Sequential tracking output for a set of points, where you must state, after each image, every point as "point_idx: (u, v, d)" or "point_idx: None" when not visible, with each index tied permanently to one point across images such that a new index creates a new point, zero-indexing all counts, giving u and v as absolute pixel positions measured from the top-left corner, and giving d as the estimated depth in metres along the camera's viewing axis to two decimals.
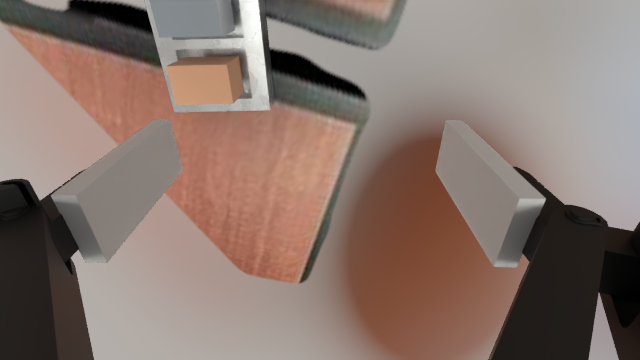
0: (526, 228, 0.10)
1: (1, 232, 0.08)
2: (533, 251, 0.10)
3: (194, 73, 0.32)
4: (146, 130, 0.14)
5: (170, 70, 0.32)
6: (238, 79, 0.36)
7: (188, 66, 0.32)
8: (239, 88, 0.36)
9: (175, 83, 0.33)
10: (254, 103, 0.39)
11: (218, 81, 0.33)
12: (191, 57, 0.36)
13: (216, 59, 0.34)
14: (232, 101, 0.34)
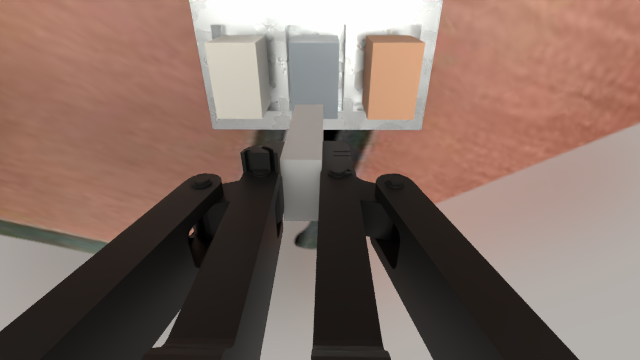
0: (315, 186, 0.12)
1: (248, 186, 0.10)
2: None
3: (378, 88, 0.26)
4: (299, 112, 0.16)
5: (372, 115, 0.27)
6: (394, 37, 0.27)
7: (370, 93, 0.27)
8: (406, 37, 0.27)
9: (388, 113, 0.27)
10: (429, 22, 0.28)
11: (392, 58, 0.25)
12: (362, 94, 0.31)
13: (367, 62, 0.28)
14: (422, 43, 0.25)
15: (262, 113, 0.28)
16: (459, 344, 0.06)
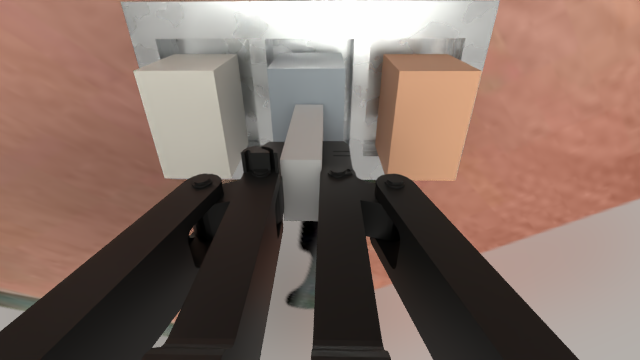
0: (315, 186, 0.12)
1: (248, 186, 0.10)
2: None
3: (405, 137, 0.17)
4: (299, 112, 0.16)
5: None
6: (426, 58, 0.18)
7: (392, 144, 0.17)
8: (444, 58, 0.18)
9: (417, 172, 0.18)
10: (476, 35, 0.19)
11: (428, 95, 0.16)
12: (376, 135, 0.22)
13: (385, 94, 0.19)
14: (476, 72, 0.16)
15: (231, 170, 0.19)
16: (459, 344, 0.06)
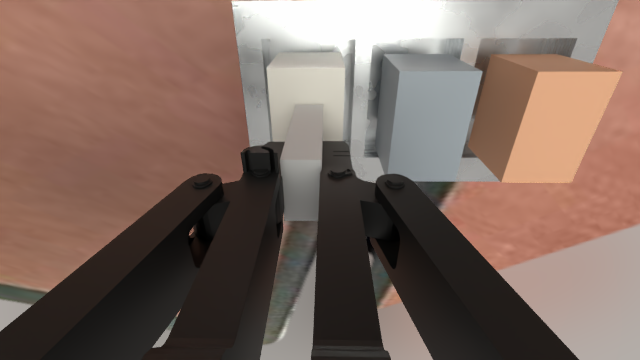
0: (315, 185, 0.12)
1: (248, 186, 0.10)
2: None
3: (529, 138, 0.17)
4: (299, 113, 0.16)
5: (510, 177, 0.18)
6: (543, 58, 0.18)
7: (515, 146, 0.17)
8: (562, 59, 0.18)
9: (534, 174, 0.18)
10: (589, 35, 0.19)
11: (562, 95, 0.16)
12: (471, 136, 0.22)
13: (496, 94, 0.19)
14: (616, 72, 0.15)
15: None
16: (459, 344, 0.06)
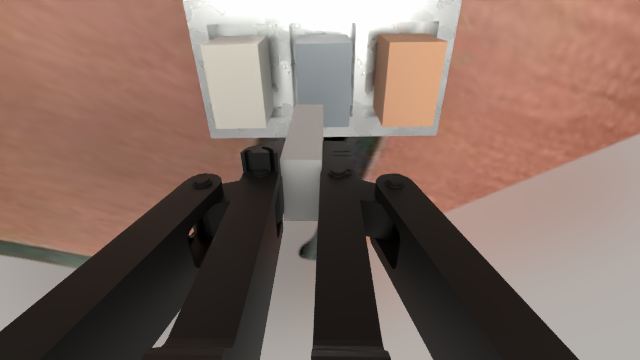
0: (315, 186, 0.12)
1: (248, 186, 0.10)
2: None
3: (395, 92, 0.24)
4: (299, 112, 0.16)
5: (388, 122, 0.25)
6: (410, 35, 0.25)
7: (386, 98, 0.24)
8: (423, 35, 0.25)
9: (404, 120, 0.25)
10: (447, 18, 0.26)
11: (410, 59, 0.23)
12: None
13: (380, 63, 0.26)
14: (443, 42, 0.22)
15: (266, 122, 0.25)
16: (459, 344, 0.06)
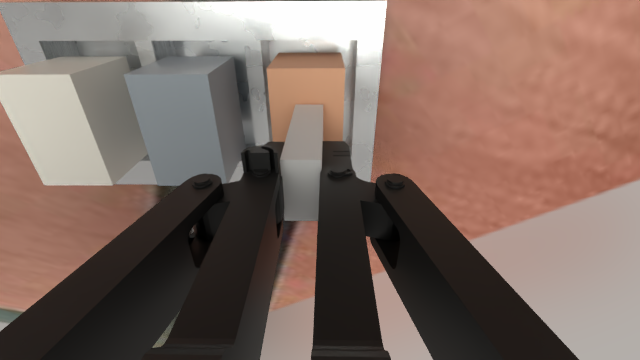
0: (315, 185, 0.12)
1: (248, 186, 0.10)
2: None
3: (285, 132, 0.18)
4: (299, 112, 0.16)
5: None
6: (312, 56, 0.19)
7: (274, 139, 0.18)
8: (329, 57, 0.19)
9: None
10: (368, 36, 0.19)
11: (299, 91, 0.17)
12: None
13: None
14: (340, 69, 0.16)
15: (113, 177, 0.18)
16: (459, 344, 0.06)
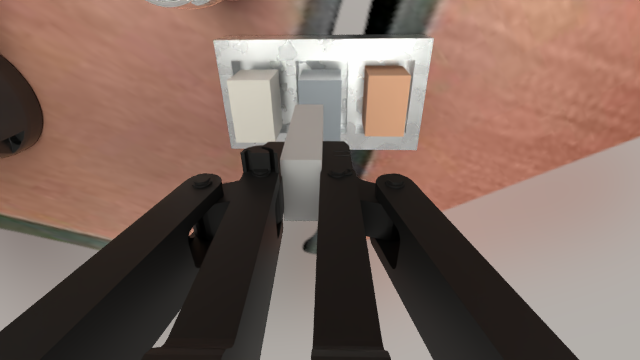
0: (315, 186, 0.12)
1: (248, 185, 0.10)
2: None
3: (373, 111, 0.32)
4: (299, 112, 0.16)
5: (369, 133, 0.33)
6: (387, 68, 0.33)
7: (367, 115, 0.32)
8: (397, 68, 0.33)
9: (382, 131, 0.33)
10: (421, 58, 0.32)
11: (384, 88, 0.31)
12: (362, 114, 0.37)
13: (365, 88, 0.34)
14: (408, 76, 0.30)
15: (275, 138, 0.32)
16: (459, 344, 0.06)
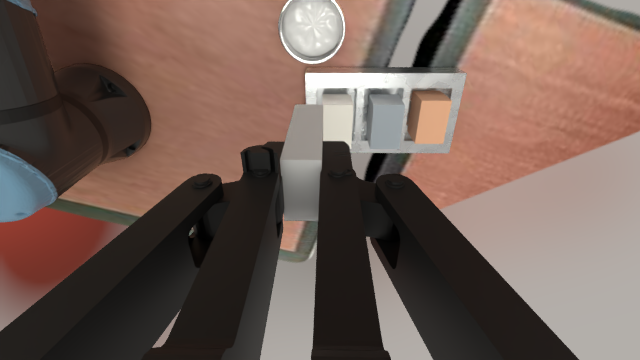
0: (315, 186, 0.12)
1: (248, 186, 0.10)
2: None
3: (423, 125, 0.44)
4: (299, 112, 0.16)
5: (418, 141, 0.45)
6: (431, 93, 0.45)
7: (418, 128, 0.44)
8: (438, 93, 0.45)
9: (427, 140, 0.45)
10: (457, 86, 0.44)
11: (432, 109, 0.43)
12: (408, 126, 0.49)
13: (414, 108, 0.46)
14: (450, 101, 0.42)
15: None
16: (459, 344, 0.06)
